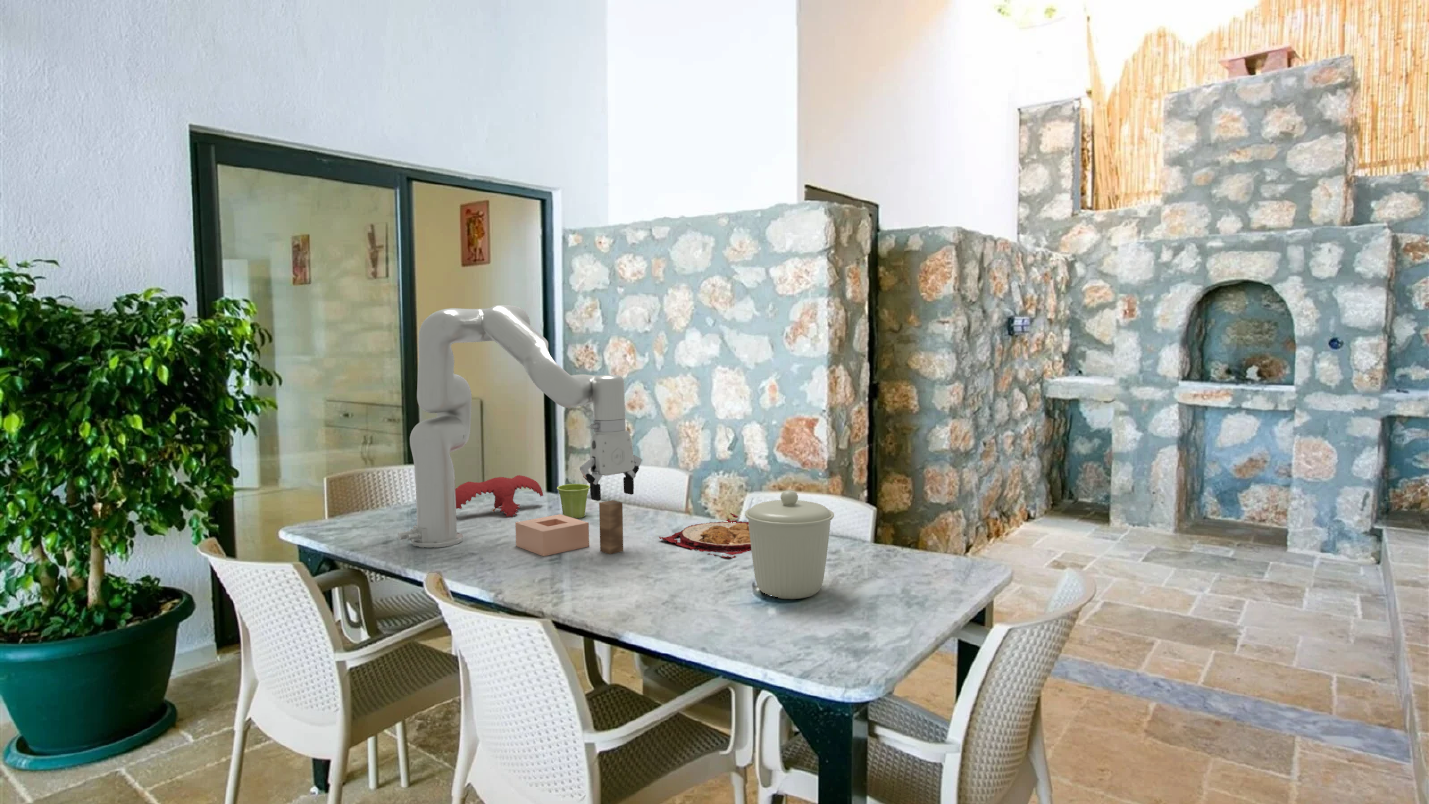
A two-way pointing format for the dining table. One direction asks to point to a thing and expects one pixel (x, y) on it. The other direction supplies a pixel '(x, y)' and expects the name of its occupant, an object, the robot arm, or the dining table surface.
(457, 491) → the decorative bird sculpture
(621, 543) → the walnut peg
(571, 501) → the plant pot
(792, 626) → the dining table surface
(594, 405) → the robot arm
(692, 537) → the plate with food
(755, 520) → the canister
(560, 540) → the pink planter box
